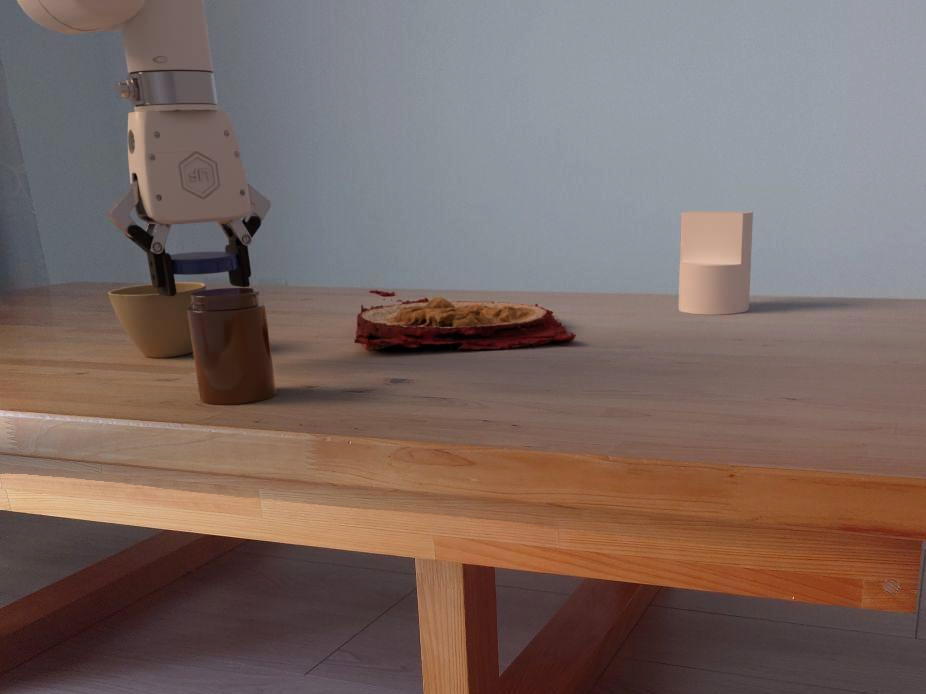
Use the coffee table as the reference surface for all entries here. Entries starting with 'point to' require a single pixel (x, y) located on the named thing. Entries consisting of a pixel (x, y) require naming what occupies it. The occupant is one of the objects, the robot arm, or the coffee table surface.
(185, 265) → the jar lid
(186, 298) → the flower pot
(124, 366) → the coffee table surface
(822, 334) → the coffee table surface
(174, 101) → the robot arm
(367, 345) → the plate with food
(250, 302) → the jar
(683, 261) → the base with upright slab
